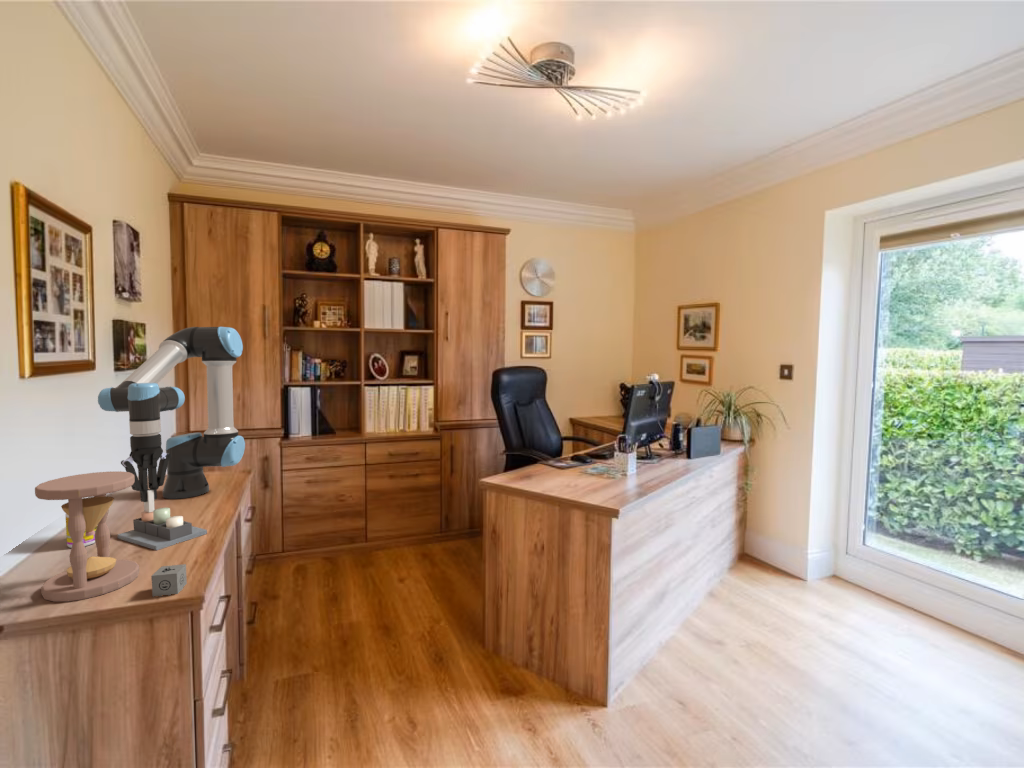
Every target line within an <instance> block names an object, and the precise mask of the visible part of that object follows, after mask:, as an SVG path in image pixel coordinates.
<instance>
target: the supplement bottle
mask: <svg viewBox="0 0 1024 768" xmlns="http://www.w3.org/2000/svg"><path fill="white" fill-rule="evenodd" d="M82 499H84V498H82ZM68 520H69V516H68V515H67V514H66V513H65V531H66V533H65V534H66V535H65V536H66V546H67V547H68V548H70V549H72V545H73V541H72V539H71V537H70V534H69V532H68ZM96 528H97V526H96V527H95V529H94V531H95V532H96ZM86 532H87V531H86V530H85V532H84V536H83V540H82V542H83V544H84V546H85V547H89V546H90V545H93V544H96V543H95V534H94V535H91V536H86V534H85V533H86Z"/></svg>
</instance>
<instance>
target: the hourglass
mask: <svg viewBox="0 0 1024 768" xmlns="http://www.w3.org/2000/svg"><path fill="white" fill-rule="evenodd" d="M134 482H135V476H134V474H132V473H130V472H126V471H121V470H120V471H119V470H118V471H97V472H88V473H81V474H74V475H68V476H63V477H59V478H55V479H49V480H47V481H44V482H42V483H39V484H37V485H36V486H35V487H34V495H35V497H36V498H37V499H39V500H44V501H66V500H67V502H66V503H64V504H62V505H61V506H60V507H61V509H62V511H63V512H64V513H65V515H66V514H67V515H68V516H69V520H68V532H69V534H70V537H71V539H72V541H73V545H72V548H70V552H69V562H70V563H69V564H70V567H68V568H67V569H66V570H65V571H62V572H60V573H57V574H56V575H53V576H52V577H50V578H48V579H47V580H46V581H45V582H44V583H43V584H42V585H41V589H40V590H41V591H40V592H41V596H42V597H43V599H44V600H46V601H51V602H54V603H59V602H60V603H61V602H62V603H63V602H64V603H65V602H75V601H81V600H87V599H90V598H91V599H92V598H94V597H97V596H102V595H106V594H108V593H111V592H114V591H116V590H118V589H122V588H123V587H124V586H125V587H126V586H127V585H129V584H131V583H132V582H133V581H134V580H136V579H137V578H138V577H139V574H140V564H138V563H137V561H135V560H129V559H117V558H115V557H111V556H110V542H111V532H110V529H109V527H108V525H107V518H108V515H109V513H110V512H109V511H110V510H109V509H110V507H112V505H113V502H114V500H115V497H113V496H107V495H108V494H111V493H116V492H119V491H122V490H126V489H128V488H129V487H131V486H132V485H133V484H134ZM82 498H84V499H82ZM96 526H97V528H96V532H95V531H94V529H95V527H96ZM85 530H86V531H87V532H86V533H85V534H86V536H91V535H94V534H95V543H94V544H95V547H96V551H97V552H96V553H97V556H89V557H88V551H87V548H86V546H84V544H83V542H82V540H83V536H84V532H85ZM135 578H136V579H135ZM118 583H119V584H118Z"/></svg>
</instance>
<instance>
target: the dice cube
mask: <svg viewBox="0 0 1024 768" xmlns="http://www.w3.org/2000/svg"><path fill="white" fill-rule="evenodd" d="M187 580H188V579H187V564H186V563H184V564H174V565H173V564H172V565H163V566H161V567H160V568H158V569H157V570H156V571H155V572H154V573H153V574H152V575H151V592H152V594H151V595H152V598H155V597H154V596H159V597H163V596H162V595H168V596H172V595H171V594H178V593H179V592H180V591H181V592H182V591H183V589H184V588H185V587H186V586H187V585H188V583H187V582H188V581H187ZM186 584H187V585H186ZM185 585H186V586H185ZM184 586H185V587H184ZM183 587H184V588H183ZM181 592H180V593H181ZM180 593H179V594H180ZM179 594H178V595H179Z"/></svg>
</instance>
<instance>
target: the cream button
mask: <svg viewBox="0 0 1024 768" xmlns="http://www.w3.org/2000/svg"><path fill="white" fill-rule="evenodd" d="M183 521H184V516H182V515H175V516H174V515H173V516H170V517H169V518H167V519H166V528H170V529H171V528H175V527H178V526H181V525H183Z"/></svg>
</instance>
